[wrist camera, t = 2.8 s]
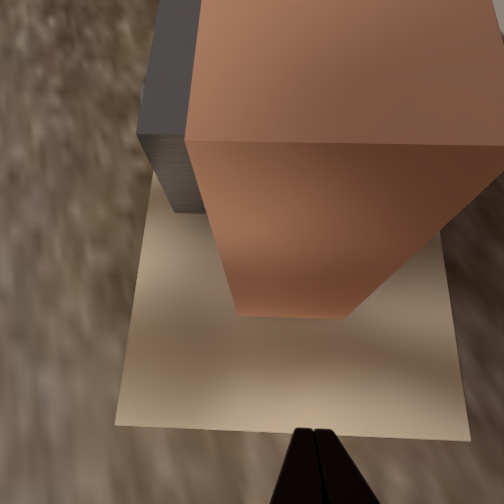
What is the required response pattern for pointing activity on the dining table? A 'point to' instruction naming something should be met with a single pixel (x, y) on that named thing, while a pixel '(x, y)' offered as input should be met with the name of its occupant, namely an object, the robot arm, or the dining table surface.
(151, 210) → the base board
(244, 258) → the peg post
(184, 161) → the band block
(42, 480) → the dining table surface
